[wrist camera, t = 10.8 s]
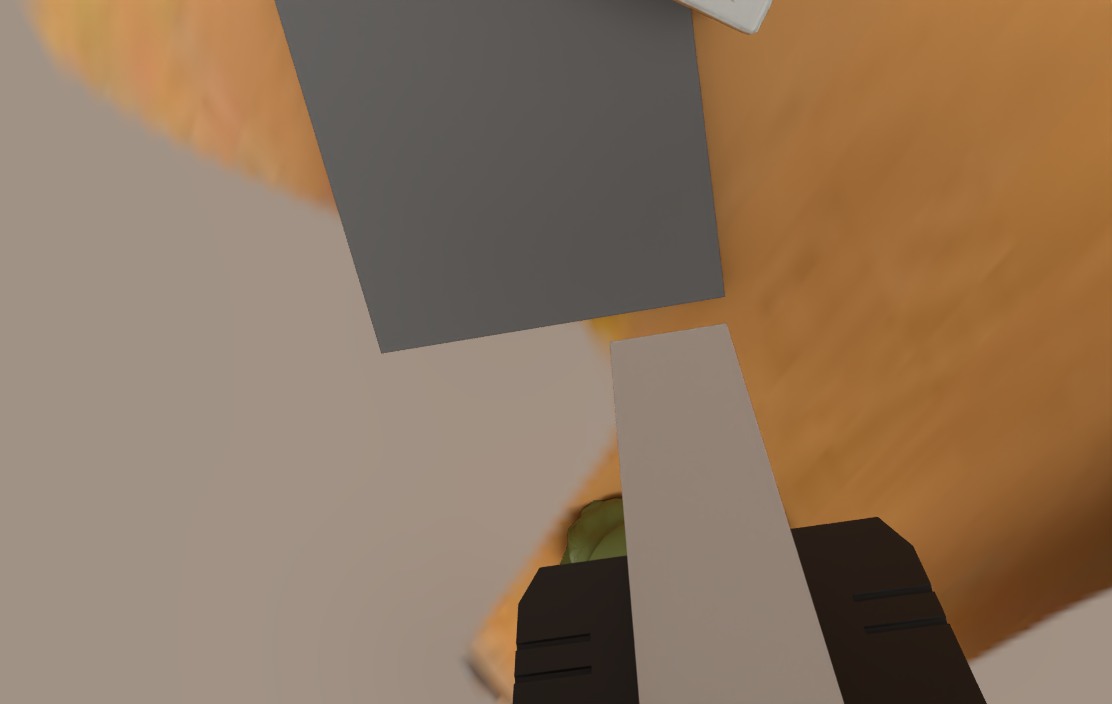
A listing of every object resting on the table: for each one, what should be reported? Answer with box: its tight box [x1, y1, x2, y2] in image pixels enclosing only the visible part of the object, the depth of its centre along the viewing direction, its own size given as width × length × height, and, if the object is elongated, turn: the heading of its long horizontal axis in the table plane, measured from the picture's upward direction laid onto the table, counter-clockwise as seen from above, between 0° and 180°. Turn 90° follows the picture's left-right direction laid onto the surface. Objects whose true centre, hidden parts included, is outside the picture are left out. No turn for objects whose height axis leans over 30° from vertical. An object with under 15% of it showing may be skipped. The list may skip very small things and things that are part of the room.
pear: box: [559, 498, 627, 565], centre depth 43 cm, size 6×5×10 cm
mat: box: [275, 0, 725, 353], centre depth 35 cm, size 16×13×1 cm
